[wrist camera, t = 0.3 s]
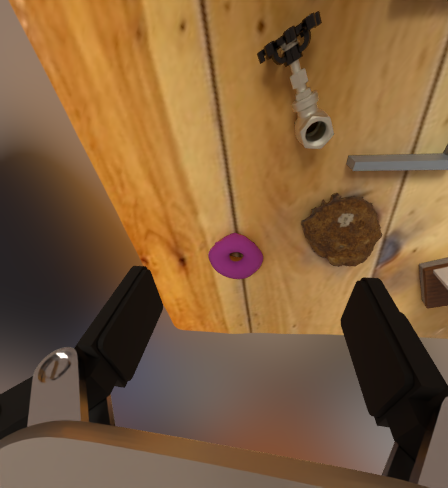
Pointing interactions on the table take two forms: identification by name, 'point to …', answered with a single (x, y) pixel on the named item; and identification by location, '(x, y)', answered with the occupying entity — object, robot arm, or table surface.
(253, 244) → the donut
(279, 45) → the valve
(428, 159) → the dock cradle
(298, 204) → the table surface
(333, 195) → the decorative rock
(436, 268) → the banded square pillar
